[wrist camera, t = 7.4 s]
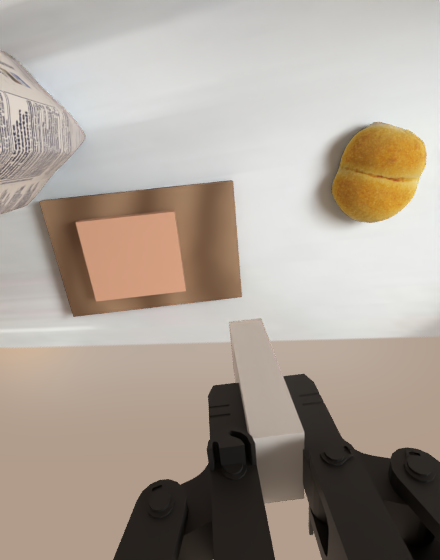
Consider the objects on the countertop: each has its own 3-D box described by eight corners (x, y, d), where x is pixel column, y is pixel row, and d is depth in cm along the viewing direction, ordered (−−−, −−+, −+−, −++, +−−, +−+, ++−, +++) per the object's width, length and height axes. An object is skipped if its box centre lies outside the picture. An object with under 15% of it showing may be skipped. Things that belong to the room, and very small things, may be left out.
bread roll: (320, 211, 34) (335, 218, 30) (350, 117, 30) (371, 112, 27) (391, 226, 35) (415, 235, 31) (427, 137, 32) (458, 135, 28)
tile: (174, 211, 30) (75, 222, 29) (185, 291, 33) (96, 301, 32) (174, 209, 31) (80, 219, 31) (186, 286, 34) (99, 296, 34)
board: (231, 180, 31) (232, 181, 30) (240, 292, 36) (241, 296, 35) (44, 199, 31) (39, 201, 30) (77, 311, 35) (73, 316, 34)
